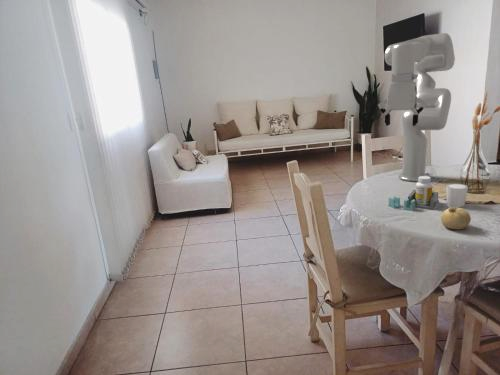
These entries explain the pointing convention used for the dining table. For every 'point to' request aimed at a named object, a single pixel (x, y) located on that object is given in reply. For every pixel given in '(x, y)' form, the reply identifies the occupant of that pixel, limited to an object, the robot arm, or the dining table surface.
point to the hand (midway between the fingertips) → (400, 125)
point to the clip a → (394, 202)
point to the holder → (430, 206)
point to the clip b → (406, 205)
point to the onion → (455, 218)
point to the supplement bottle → (423, 190)
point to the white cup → (456, 194)
